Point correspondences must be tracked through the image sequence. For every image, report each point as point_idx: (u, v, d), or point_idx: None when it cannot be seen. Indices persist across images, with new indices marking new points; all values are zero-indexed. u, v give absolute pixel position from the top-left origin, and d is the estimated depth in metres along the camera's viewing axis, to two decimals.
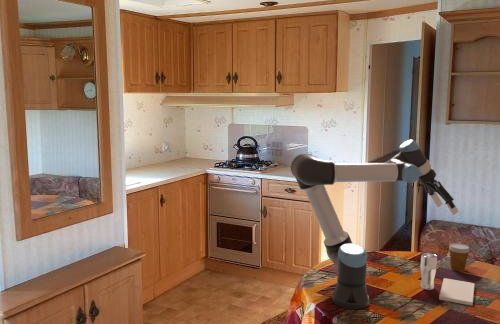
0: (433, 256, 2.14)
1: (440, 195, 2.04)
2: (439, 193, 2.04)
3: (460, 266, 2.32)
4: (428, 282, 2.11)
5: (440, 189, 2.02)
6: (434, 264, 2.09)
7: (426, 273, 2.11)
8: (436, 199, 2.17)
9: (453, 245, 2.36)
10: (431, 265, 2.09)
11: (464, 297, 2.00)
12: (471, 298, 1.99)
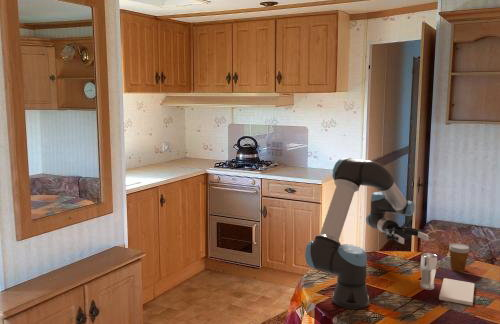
0: (433, 256, 2.14)
1: (411, 229, 2.31)
2: (409, 229, 2.32)
3: (460, 266, 2.32)
4: (428, 282, 2.11)
5: None
6: (434, 264, 2.09)
7: (426, 273, 2.11)
8: None
9: (453, 245, 2.36)
10: (431, 265, 2.09)
11: (464, 297, 2.00)
12: (471, 298, 1.99)
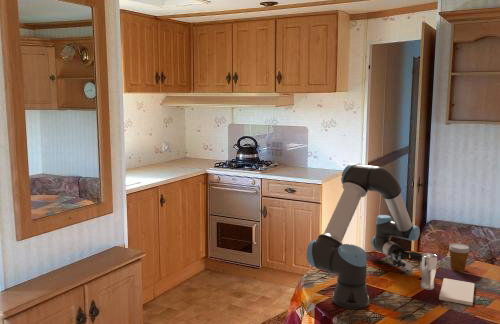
0: (433, 256, 2.14)
1: (417, 254, 2.29)
2: None
3: (460, 266, 2.32)
4: (428, 282, 2.11)
5: None
6: (434, 264, 2.09)
7: (426, 273, 2.11)
8: None
9: (453, 245, 2.36)
10: (431, 265, 2.09)
11: (464, 297, 2.00)
12: (471, 298, 1.99)
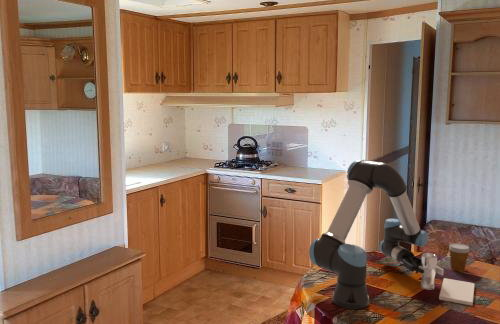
0: (433, 256, 2.14)
1: None
2: None
3: (460, 266, 2.32)
4: (428, 282, 2.11)
5: None
6: (434, 264, 2.09)
7: None
8: None
9: (453, 245, 2.36)
10: (431, 265, 2.09)
11: (464, 297, 2.00)
12: (471, 298, 1.99)
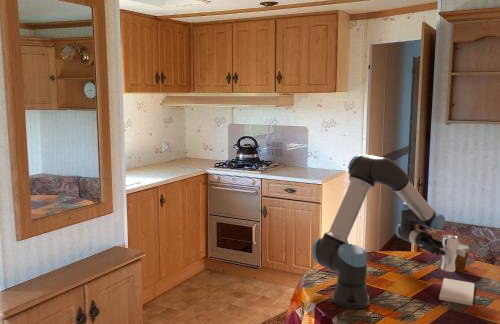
0: (454, 238, 2.10)
1: None
2: None
3: (460, 266, 2.32)
4: (449, 264, 2.07)
5: None
6: (456, 245, 2.05)
7: None
8: None
9: None
10: (452, 246, 2.05)
11: (464, 297, 2.00)
12: (471, 298, 1.99)
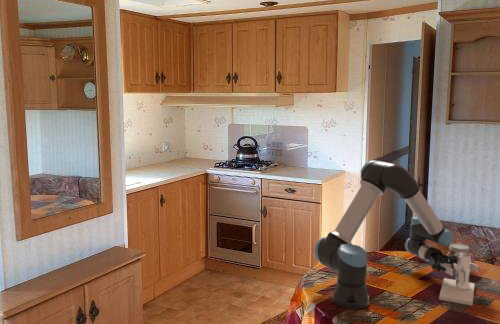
0: (466, 255, 2.10)
1: None
2: None
3: None
4: (463, 282, 2.08)
5: None
6: (468, 263, 2.06)
7: (461, 272, 2.07)
8: None
9: (453, 245, 2.36)
10: (465, 264, 2.06)
11: (464, 297, 2.00)
12: (471, 298, 1.99)
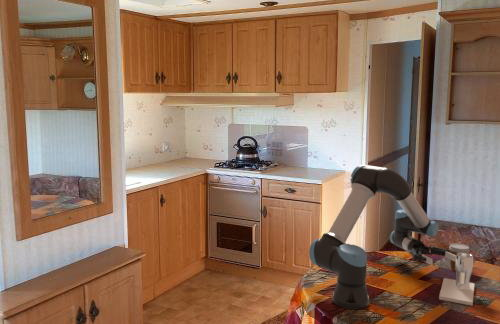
0: (468, 256, 2.10)
1: (438, 249, 2.27)
2: (436, 249, 2.27)
3: None
4: (464, 282, 2.08)
5: None
6: (470, 264, 2.06)
7: (462, 273, 2.07)
8: None
9: (453, 245, 2.36)
10: (467, 265, 2.05)
11: (464, 297, 2.00)
12: (471, 298, 1.99)
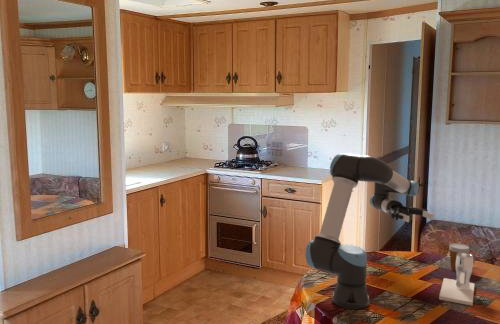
0: (468, 256, 2.10)
1: (416, 209, 2.29)
2: (414, 209, 2.30)
3: None
4: (464, 282, 2.08)
5: None
6: (470, 264, 2.06)
7: (462, 273, 2.07)
8: None
9: (453, 245, 2.36)
10: (467, 265, 2.05)
11: (464, 297, 2.00)
12: (471, 298, 1.99)
